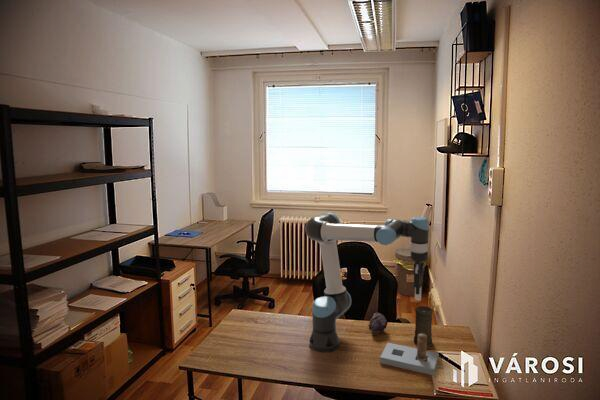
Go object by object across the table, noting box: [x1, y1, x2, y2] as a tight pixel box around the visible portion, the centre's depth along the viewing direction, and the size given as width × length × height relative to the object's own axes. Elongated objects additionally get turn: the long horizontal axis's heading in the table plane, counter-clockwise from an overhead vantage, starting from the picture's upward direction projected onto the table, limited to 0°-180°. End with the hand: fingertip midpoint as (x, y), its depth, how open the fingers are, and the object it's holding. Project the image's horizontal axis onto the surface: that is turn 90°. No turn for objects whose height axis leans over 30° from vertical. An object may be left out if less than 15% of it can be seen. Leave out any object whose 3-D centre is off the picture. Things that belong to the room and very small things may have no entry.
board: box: [379, 342, 439, 376], centre depth 193 cm, size 24×14×3 cm, turn 64°
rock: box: [368, 311, 388, 336], centre depth 221 cm, size 12×9×10 cm
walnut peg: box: [416, 333, 428, 362], centre depth 190 cm, size 4×4×14 cm
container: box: [413, 305, 434, 348], centre depth 207 cm, size 9×9×18 cm
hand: (417, 299), depth 192 cm, fingers closed
